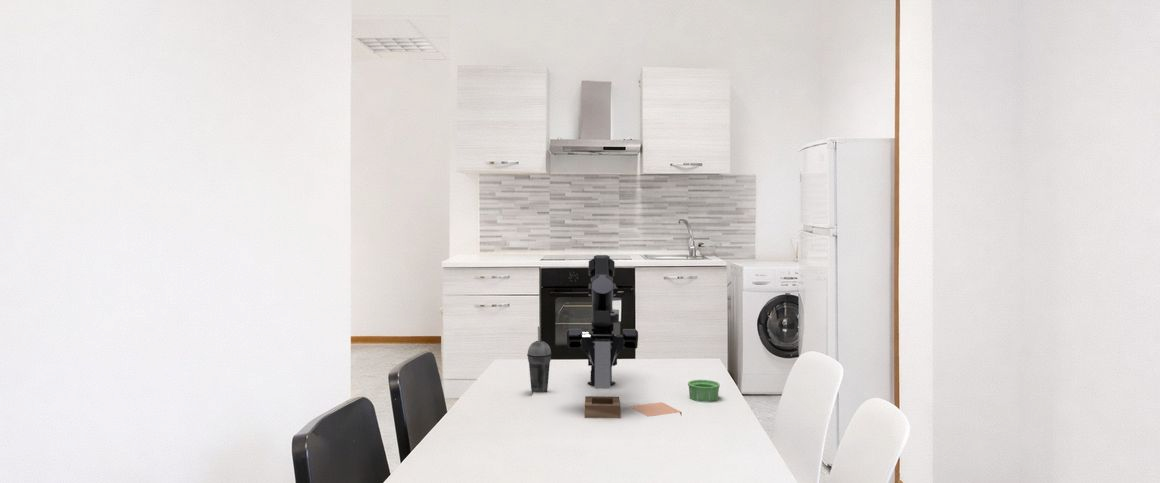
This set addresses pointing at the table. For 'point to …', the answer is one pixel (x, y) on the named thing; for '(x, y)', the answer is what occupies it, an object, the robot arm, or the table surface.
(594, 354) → the robot arm
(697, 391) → the ramekin
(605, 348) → the peg
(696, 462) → the table surface
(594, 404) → the socket block
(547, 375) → the beverage cup
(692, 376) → the table surface
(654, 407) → the mat
